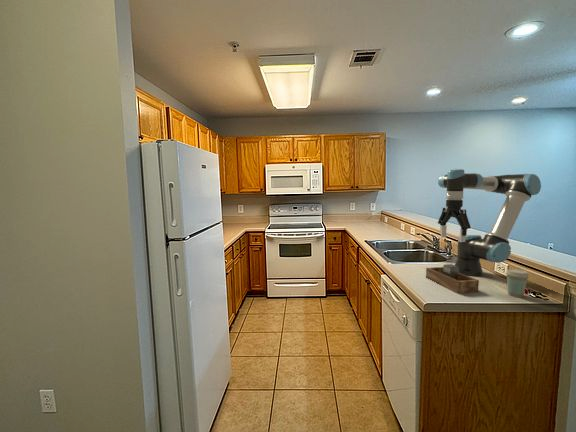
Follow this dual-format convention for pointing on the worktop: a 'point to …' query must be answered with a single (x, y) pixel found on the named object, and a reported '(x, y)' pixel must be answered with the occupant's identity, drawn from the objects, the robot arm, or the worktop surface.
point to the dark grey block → (451, 271)
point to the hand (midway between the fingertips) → (452, 239)
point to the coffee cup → (516, 282)
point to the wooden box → (453, 281)
